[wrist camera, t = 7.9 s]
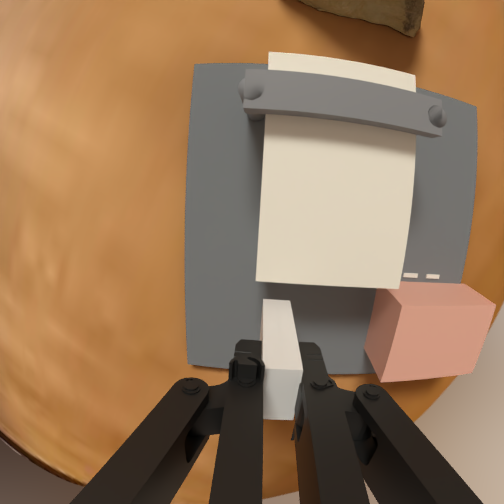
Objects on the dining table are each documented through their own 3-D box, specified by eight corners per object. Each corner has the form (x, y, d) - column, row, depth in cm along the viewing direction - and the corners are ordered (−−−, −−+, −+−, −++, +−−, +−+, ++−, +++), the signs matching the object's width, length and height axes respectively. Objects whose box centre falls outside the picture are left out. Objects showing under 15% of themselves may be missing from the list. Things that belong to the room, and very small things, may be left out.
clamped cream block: (239, 257, 21) (227, 287, 15) (249, 76, 18) (241, 41, 12) (391, 267, 20) (426, 297, 15) (404, 96, 17) (444, 75, 12)
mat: (190, 357, 24) (187, 364, 23) (197, 68, 18) (194, 63, 17) (429, 363, 23) (434, 369, 22) (469, 108, 18) (477, 106, 17)
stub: (363, 347, 22) (380, 382, 17) (378, 280, 20) (402, 305, 16) (446, 344, 21) (471, 372, 17) (464, 283, 20) (496, 305, 16)
